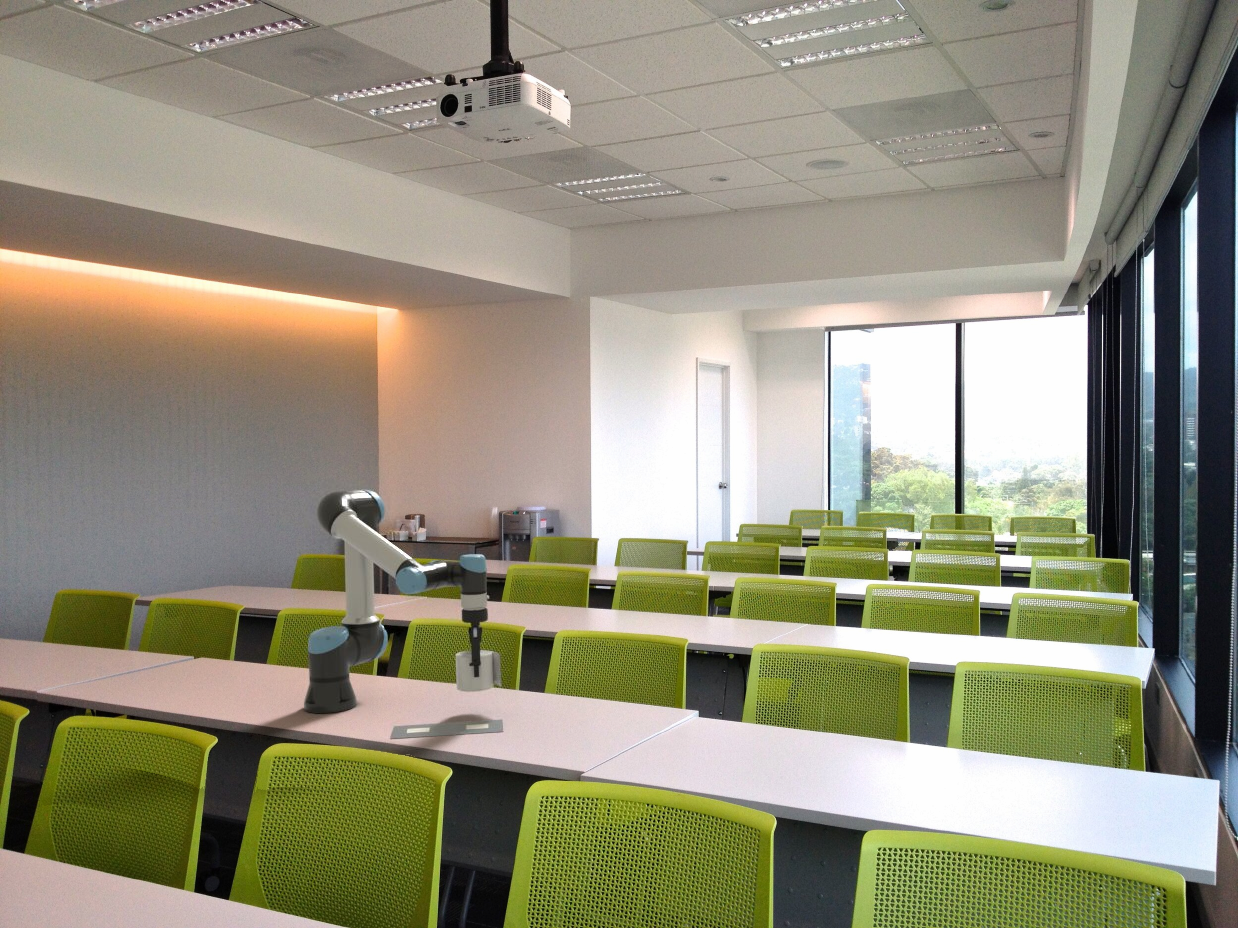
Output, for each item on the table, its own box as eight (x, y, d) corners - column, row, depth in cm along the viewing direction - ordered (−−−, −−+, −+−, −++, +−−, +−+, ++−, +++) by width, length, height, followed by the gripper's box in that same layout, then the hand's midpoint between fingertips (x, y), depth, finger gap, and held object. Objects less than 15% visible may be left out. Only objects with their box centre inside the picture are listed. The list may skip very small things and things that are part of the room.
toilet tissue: (453, 685, 295) (452, 651, 294) (493, 681, 299) (492, 647, 299) (460, 693, 285) (459, 658, 284) (501, 688, 289) (500, 654, 289)
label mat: (390, 738, 267) (390, 738, 267) (394, 726, 279) (394, 725, 279) (503, 731, 271) (503, 730, 271) (502, 719, 283) (502, 718, 283)
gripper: (487, 613, 280) (490, 691, 281) (487, 601, 303) (489, 673, 304) (460, 614, 279) (463, 693, 280) (462, 602, 302) (464, 675, 303)
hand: (477, 683), depth 292 cm, fingers closed on toilet tissue, 11 cm apart
